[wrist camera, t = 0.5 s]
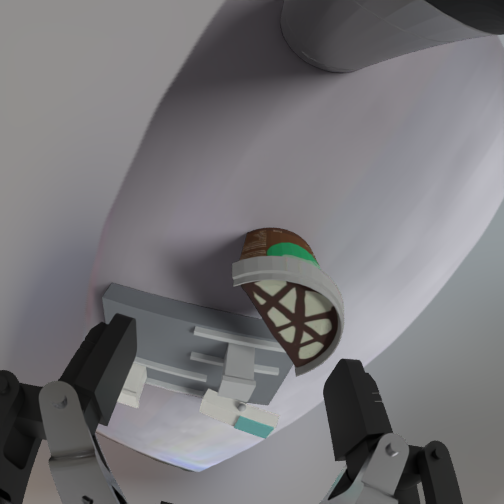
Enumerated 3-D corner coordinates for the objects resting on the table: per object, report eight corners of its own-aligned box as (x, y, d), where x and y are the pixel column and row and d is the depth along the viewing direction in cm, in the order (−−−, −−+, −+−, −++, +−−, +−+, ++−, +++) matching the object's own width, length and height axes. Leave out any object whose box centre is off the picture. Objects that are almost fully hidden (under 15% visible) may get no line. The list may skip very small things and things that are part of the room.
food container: (340, 289, 30) (363, 357, 21) (290, 309, 31) (298, 379, 23) (299, 193, 25) (319, 241, 16) (240, 220, 26) (229, 279, 18)
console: (112, 282, 31) (92, 310, 26) (301, 326, 33) (306, 361, 28) (120, 356, 38) (109, 382, 33) (268, 389, 40) (268, 418, 35)
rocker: (208, 386, 32) (201, 399, 30) (281, 413, 31) (276, 427, 29) (204, 403, 35) (198, 415, 33) (269, 428, 33) (265, 440, 31)
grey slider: (227, 340, 30) (222, 380, 25) (257, 345, 30) (255, 385, 25) (222, 357, 31) (217, 395, 26) (250, 363, 32) (248, 401, 27)
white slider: (124, 357, 33) (111, 389, 28) (147, 364, 33) (135, 397, 28) (126, 371, 34) (115, 400, 30) (148, 377, 35) (138, 408, 30)
